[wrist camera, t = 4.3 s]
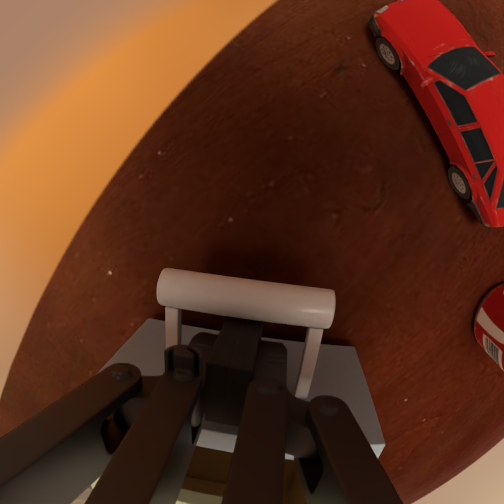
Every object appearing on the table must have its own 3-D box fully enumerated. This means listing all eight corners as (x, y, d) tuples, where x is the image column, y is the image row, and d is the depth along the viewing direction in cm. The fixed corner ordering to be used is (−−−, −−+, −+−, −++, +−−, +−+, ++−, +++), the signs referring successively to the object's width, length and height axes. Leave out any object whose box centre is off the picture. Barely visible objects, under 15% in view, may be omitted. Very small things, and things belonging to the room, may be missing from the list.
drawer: (148, 236, 18) (59, 280, 10) (374, 264, 17) (433, 332, 9) (161, 464, 23) (131, 532, 15) (305, 487, 22) (304, 563, 14)
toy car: (423, 3, 13) (452, -32, 9) (523, 189, 15) (569, 196, 11) (351, 28, 15) (368, -12, 10) (464, 232, 17) (508, 250, 12)
